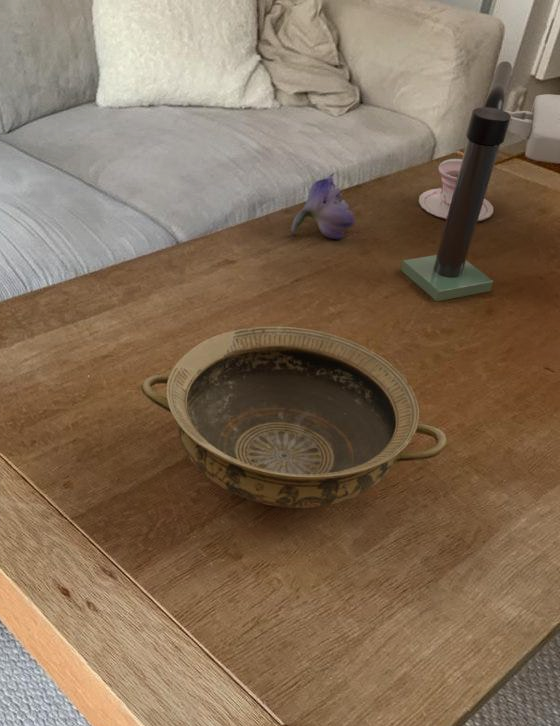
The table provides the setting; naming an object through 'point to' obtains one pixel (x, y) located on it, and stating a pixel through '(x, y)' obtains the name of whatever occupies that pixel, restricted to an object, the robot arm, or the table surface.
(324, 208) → the flower
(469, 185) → the base
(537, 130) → the robot arm
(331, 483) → the ceramic bowl
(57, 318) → the table surface
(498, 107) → the spout
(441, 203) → the teacup
